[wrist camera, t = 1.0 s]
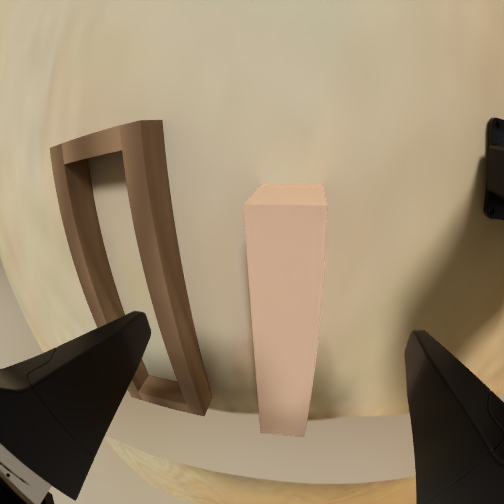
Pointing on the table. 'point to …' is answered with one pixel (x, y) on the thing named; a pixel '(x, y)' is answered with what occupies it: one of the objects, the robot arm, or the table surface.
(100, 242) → the frame
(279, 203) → the clay strip
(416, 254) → the table surface
